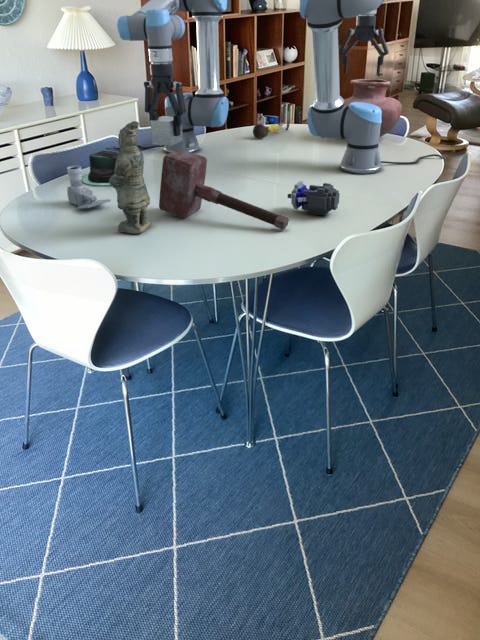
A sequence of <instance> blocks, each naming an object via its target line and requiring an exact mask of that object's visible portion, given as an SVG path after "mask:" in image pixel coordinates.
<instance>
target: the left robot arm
mask: <svg viewBox="0 0 480 640" xmlns="http://www.w3.org/2000/svg"><path fill="white" fill-rule="evenodd" d="M227 5H228V0H149V1H147V2H146V3H145V4H144V5H143V6H141V7H140V8H138V10H137V11H135V12H134V13H133V14H130V15H120V16H119V17H118V19H117V22H116V29H117V34H118V36H119V38H120V39H121V40H123V41H130V42H137V41H139V42H141V41H144V42H145V41H146V42H147V45H148V46H147V47H148V56H149V62H150V65H149V68H150V70H149V71H150V76H151V79H150V80H147V81H144V82H143V86H144V90H145V91H144V112H145V113H148V114H149V116H150V120H153V119H156V118H159V117H160V116H159V113H157V110H158V105H159V102H160V98H161V95H162V94H165V96H166V97H165V98H164V112H165V116H169V117H173V119H174V131H175V136H179V135H181V134H180V125H182V134H183V141H181V142H179V143H176V144H174V145H172V146H168V145H153V146H144V145H143V146H142V145H138V144H136V146H137V147H138V148H141V149H144V150H149V149H156V148H164V149H163V150H164V152H165V154H170V153H172V152H174V151H177V150H179V149H184V150H187V151H190V152H192V153H196V152H199V151H200V144H199V141H198V138H197V135H196V133H195V127H204V128H205V127H206V128H207V127H210V128H220V127H223V126H224V125H225V123H226V121H227V118H228V116H229V115H228V114H229V105H230V103H229V99H228V98H227V97H226V96H224V93H225V92H224V91H223V90H222V89H221V87H220V84H221V83H220V81H221V80H220V79H221V77H220V39H219V38H220V35H219V22H220V21H221V20H222V18H223V13H224V12H226V10H227V7H228V6H227ZM182 12H183V13H185V12H186V13H191V15H192V16H191V17H192V19H193V20H194V21H195V22H196V46H197V47H196V48H197V72H198V74H197V76H198V89H197V90H196V91H195V93H194V94H195V95H194V96H193V94H192V93H193V92H187V91H186V92H183V86H184V85H183V82H182V81H180V82H178V81H176V80H175V79H174V63H172V62H173V59H174V58H173V48H172V47H173V46H172V41H177V40H179V39H181V38H182V37H183V36H184V34H185V31H186V24H185V21H184V20H183V19H182V17H180V16H179V15H177V14H176V13H182ZM153 88H154V89H153ZM174 89H175V91H174ZM114 149H115V150H117V151H118V150H119V151H120V147H117V148H114Z"/></svg>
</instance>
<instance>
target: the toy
mask: <svg viewBox="0 0 480 640" xmlns="http://www.w3.org/2000/svg"><path fill="white" fill-rule="evenodd" d="M293 187H294V188H293V189H292V191H291V193H288V194H287V199H291V200H290V201H291V202H290V203H291V206H292V207H293V210H298V209H299V208H301V210H303V211H306V212H307V214H310V215H311V214H312V215H318V216H326V215H328V213H330V212H331V211H336V210H337V209H338V205H339V204H340V194H341V193H340V190H338V189H337V188H335V187H334V184H332V183H328V182H324V183H322V185H315V184H310V185H309V186H308V187H309V188H308V187H307V185H306V184H305V183H304V181H301V180H299V181H298V182H296V183H295V184H294V186H293Z"/></svg>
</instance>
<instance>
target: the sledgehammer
mask: <svg viewBox="0 0 480 640" xmlns="http://www.w3.org/2000/svg"><path fill="white" fill-rule="evenodd" d="M207 164H208V159H207V158H206V157H205V156H203V155H200V154H197V153H196V152H194V153H192V152H190V151H187V150H184V149H179V150H177V151H174V152H172V153H166V154H165V155H164V156H163V158H162V167H161V176H160V187H159V199H158V208H159V210H160V211H162V212H165V213H168V214H170V215H173V216H174V217H177V218H180V219H182V220H185V219H187V218H188V217H190V216H192V215H193V214H195V213H197V212H198V211H199V210H200V209H201V207H202V201H203V200H204V201H207V202H209V203H213V204H215V205H220V206H223V207H225V208H228V209H231V210H233V211H236V212H239V213H241V214H243V215H245V216H248V217H252V218H255V219H257V220H260V221H262V222H264V223H267V224H270V225H273V226H274V228H276V229H280V230H282V231H285V230H286V228H287V227H288V224H289V221H290V218H289V217H288V216H286V215H283V214H281V213H279V214H277V213H275V212H273V211H269V210H267V209H265V208H262V207H259V206H256V205H254V204H251V203H248V202H246V201H244V200H242V199H238V198H236V197H233V196H231V195H228V194H225V193H223V192H222V191H220V190H218V189H215V188H214V187H211V186H208V185H205V181H206V175H207Z"/></svg>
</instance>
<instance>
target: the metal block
mask: <svg viewBox="0 0 480 640" xmlns="http://www.w3.org/2000/svg"><path fill="white" fill-rule="evenodd" d="M158 117H159V118H156V119H153V120H151V119H150V120H149V123H150V125H149V126H150V133H151V144H152V145H155V146H159V145H168V146H172V145H174V144H176V143H179V142H181V141H183V134H182V125H180V134H181V135H179V136H175V131H174V119H173V117H169V116H166V115H162V116H158Z"/></svg>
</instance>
